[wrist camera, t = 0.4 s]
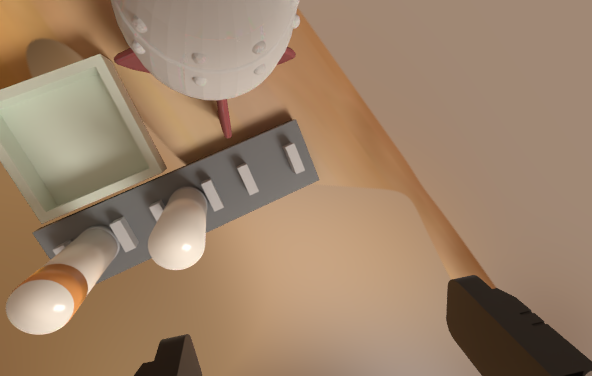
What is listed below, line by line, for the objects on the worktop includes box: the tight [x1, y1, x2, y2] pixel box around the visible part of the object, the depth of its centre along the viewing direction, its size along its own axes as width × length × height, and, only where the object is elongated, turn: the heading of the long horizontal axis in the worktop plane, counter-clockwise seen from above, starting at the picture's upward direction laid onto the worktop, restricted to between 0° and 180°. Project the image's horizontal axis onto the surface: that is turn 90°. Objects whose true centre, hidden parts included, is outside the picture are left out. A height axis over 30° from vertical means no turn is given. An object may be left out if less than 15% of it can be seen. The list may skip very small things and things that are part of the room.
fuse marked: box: [6, 225, 121, 334], centre depth 27 cm, size 4×4×12 cm
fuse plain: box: [148, 186, 207, 270], centre depth 28 cm, size 4×4×12 cm
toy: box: [111, 0, 300, 138], centre depth 19 cm, size 11×11×30 cm
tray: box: [0, 54, 166, 224], centre depth 30 cm, size 11×11×3 cm
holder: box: [33, 119, 319, 284], centre depth 34 cm, size 7×27×3 cm, turn 112°
